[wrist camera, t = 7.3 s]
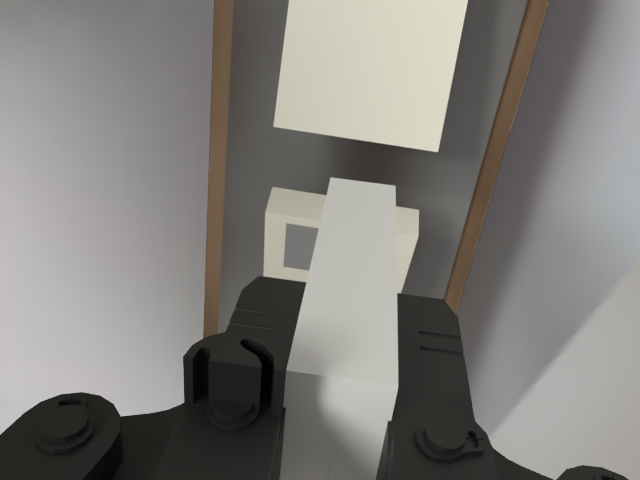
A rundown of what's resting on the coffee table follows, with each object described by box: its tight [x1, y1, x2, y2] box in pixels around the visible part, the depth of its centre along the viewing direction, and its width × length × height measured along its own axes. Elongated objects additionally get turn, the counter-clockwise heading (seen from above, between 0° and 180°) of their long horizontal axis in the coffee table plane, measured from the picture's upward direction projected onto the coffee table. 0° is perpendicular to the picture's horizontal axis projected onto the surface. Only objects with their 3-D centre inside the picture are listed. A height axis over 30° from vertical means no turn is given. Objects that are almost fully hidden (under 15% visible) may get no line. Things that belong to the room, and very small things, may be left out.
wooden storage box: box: [203, 0, 550, 339], centre depth 29 cm, size 12×31×7 cm, turn 173°
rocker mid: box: [263, 187, 419, 293], centre depth 25 cm, size 6×8×1 cm
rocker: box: [273, 0, 468, 152], centre depth 19 cm, size 6×8×2 cm
